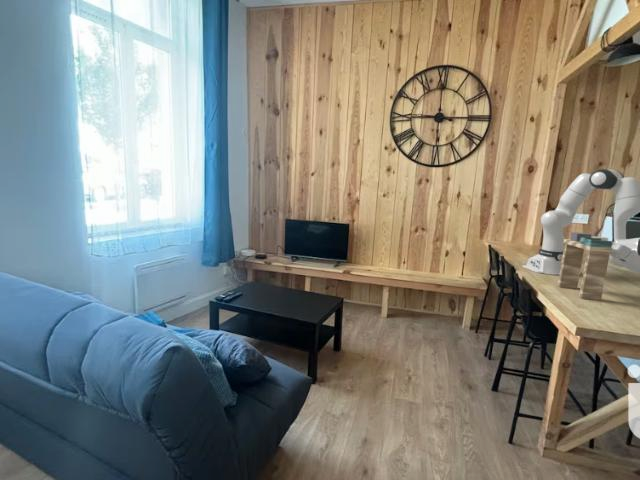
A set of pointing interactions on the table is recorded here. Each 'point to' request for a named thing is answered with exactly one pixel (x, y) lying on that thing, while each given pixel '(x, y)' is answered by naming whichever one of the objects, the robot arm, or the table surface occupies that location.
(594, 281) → the brown and teal frame
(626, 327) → the table surface
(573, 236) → the beige and grey block
